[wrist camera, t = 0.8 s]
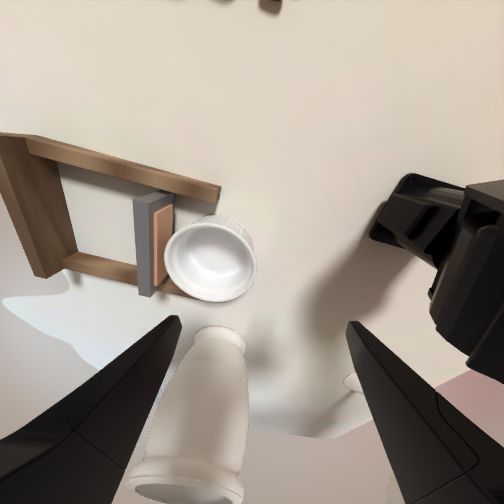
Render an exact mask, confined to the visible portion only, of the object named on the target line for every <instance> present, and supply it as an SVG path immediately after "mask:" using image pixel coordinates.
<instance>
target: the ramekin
mask: <svg viewBox="0 0 504 504" xmlns="http://www.w3.org/2000/svg"><path fill="white" fill-rule="evenodd" d="M164 262H165V267H166V270H167V272H168V274H169V276H170V277H171V279H172V280H173V282H174V283H175V284H176V285H177V286H178V287H179V288H180V289H182V290H183V291H184V292H186V293H187V294H189V295H191V296H193V297H195V298H198V299H201V300H205V301H210V302H223V301H229V300H232V299H235V298H237V297H239V296H241V295H243V294H244V293H245V292H246V291H247V290H248V289H249V288H250V287H251V286H252V284H253V282H254V280H255V277H256V274H257V262H256V257H255V254H254V247H253V242H252V239H251V237H250V235H249V233H248V232H247V231H246V229H245V228H244V227H243V226H242V225H240V224H239V223H238V222H236V221H235V220H233V219H231V218H228V217H225V216H220V215H211V216H206V217H203V218H201V219H198V220H196V221H195V222H193V223H192V224H190V225H188V226H185V227H183V228H182V229H180V230H178V231H177V232H176V233H175V234H174V235H173V236H172V237H171V238H170V239H169V241H168V243H167V245H166V248H165V251H164Z"/></svg>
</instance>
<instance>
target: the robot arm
mask: <svg viewBox="0 0 504 504" xmlns="http://www.w3.org/2000/svg"><path fill="white" fill-rule="evenodd" d="M411 177H412V180H411V181H410V182H409V179H410V178H411ZM375 233H376V235H375V236H373V235H374V234H375ZM369 238H371V239H372V240H375V241H378V242H382V243H386V244H389V245H393V246H397V247H400V248H404V249H407V250H409V251H410V252H412V253H413V254H414V255H416V256H417V257H419V258H420V259H422V260H423V261H425V262H426V263H428V264H429V265H431V266H432V267H434V268H435V269H437V270H438V271H437V274H436V277H435V279H434V282H433V285H432V288H429V291H428V296H429V298H430V300H431V302H430V309H429V313H430V315H431V317H432V319H433V321H434V323H435V324H436V331H437V332H438V333H439V334H440V335H441V336H442V337H443V338H444V339H445V340H446V341H448V342H449V343H450V344H452V345H453V346H454V347H456V348H457V349H458V350H460V351H461V352H462V353H464V354H466V355H467V356H469V358H468V360H467V361H466V365H467V367H469V368H470V369H473V370H475V371H477V372H479V373H482V374H484V375H486V376H488V377H490V378H493V379H495V380H497V381H499V382H501V383H502V384H504V180H498V181H491V182H485V183H478V184H471V185H467V186H466V188H461V187H458V186H455V185H452V184H448V183H445V182H442V181H438V180H435V179H432V178H429V177H425V176H422V175H419V174H415V173H409V174H407V175H405V177H404V178H403V179H402V181H401V183H400V184H399V186H398V187H397V189H396V191H395V192H394V194H393V195H392V196H391V198H390V199H389V201H388V202H387V204H386V206H385V207H384V209H383V210H382V212H381V214H380V215H379V217H378V218H377V221H376V223H375V224H374V226H373V228H372V229H371V231H370V232H369ZM181 329H182V325H181V322H180V319H179V316H178V315H170V316H168V317H167V318H166V319H165V320H163V321H162V322H161V323H160V324H158V325H157V326H156V327H155V328H153V329H152V330H151V331H149V332H148V333H147V334H146V335H144V336H143V337H142V338H141V339H139V340H138V341H137V342H136V343H134V344H133V345H132V346H131V347H129V348H128V349H127V350H125V351H124V352H123V353H122V354H120V355H119V356H118V357H117V358H115V359H114V360H113V361H112V362H110V363H109V364H108V365H106V366H105V367H104V368H103V369H101V370H100V371H99V372H98V373H96V374H95V375H94V376H93V377H91V378H90V379H89V380H87V381H86V382H85V383H84V384H82V385H81V386H79V387H78V388H77V389H75V390H74V391H73V392H71V393H70V394H68V395H67V396H66V397H64V398H63V399H62V400H60V401H59V402H57V403H56V404H54V405H53V406H52V407H50V408H49V409H47V410H46V411H45V412H43V413H42V414H40V415H39V416H37V417H36V418H35V419H33V420H32V421H30V422H29V423H28V424H26V425H25V426H23V427H22V428H20V429H19V430H17V431H16V432H14V433H12V434H10V435H9V436H7V437H5V438H3V439H1V440H0V504H111V503H112V501H113V499H114V496H115V494H116V491H117V489H118V487H119V484H120V482H121V480H122V477H123V475H124V472H125V469H126V467H127V465H128V463H129V460H130V458H131V455H132V453H133V451H134V448H135V446H136V443H137V441H138V439H139V436H140V434H141V432H142V429H143V427H144V425H145V422H146V420H147V418H148V415H149V413H150V410H151V408H152V406H153V403H154V401H155V399H156V396H157V394H158V391H159V389H160V387H161V384H162V382H163V380H164V377H165V375H166V372H167V370H168V368H169V365H170V363H171V360H172V358H173V355H174V352H175V349H176V346H177V342H178V339H179V336H180V333H181ZM346 338H347V342H348V346H349V350H350V354H351V357H352V361H353V365H354V368H355V371H356V374H357V377H358V379H359V382H360V385H361V387H362V390H363V393H364V395H365V398H366V401H367V403H368V406H369V409H370V411H371V414H372V417H373V419H374V422H375V425H376V427H377V430H378V432H379V435H380V438H381V440H382V443H383V446H384V449H385V451H386V454H387V457H388V459H389V462H390V464H391V467H392V470H393V473H394V475H395V478H396V481H397V483H398V486H399V489H400V491H401V494H402V497H403V499H404V502H405V504H504V448H503V447H502V446H501V445H500V444H499V443H497V442H496V441H495V440H494V439H492V438H491V437H490V436H489V435H487V434H486V433H485V432H484V431H483V430H481V429H480V428H479V427H478V426H476V425H475V424H474V423H473V422H472V421H470V420H469V419H468V418H467V417H466V416H464V415H463V414H462V413H461V412H460V411H459V410H457V409H456V408H455V407H454V406H453V405H452V404H450V403H449V402H448V401H447V400H446V399H445V398H444V397H443V396H441V395H440V394H439V393H438V392H436V391H435V389H434V388H433V387H431V386H430V385H429V384H428V383H427V382H426V381H425V380H424V379H422V378H421V377H420V376H419V375H418V374H417V373H416V372H415V371H413V370H412V369H411V368H410V367H409V366H408V365H407V364H406V363H405V362H403V361H402V360H401V359H400V358H399V357H398V356H397V355H396V354H394V353H393V352H392V351H391V350H390V349H389V348H388V347H387V346H385V345H384V344H383V343H382V342H381V341H380V340H379V339H378V338H377V337H375V336H374V335H373V334H372V333H371V332H370V331H369V330H368V329H366V328H365V327H364V326H363V325H362V324H361V323H360V322H358V321H349V322H348V325H347V329H346Z"/></svg>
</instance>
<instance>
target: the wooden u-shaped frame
mask: <svg viewBox="0 0 504 504" xmlns="http://www.w3.org/2000/svg"><path fill="white" fill-rule="evenodd" d="M56 161H59V162H63V163H66V164H70V165H74V166H77V167H81V168H85V169H88V170H92V171H96V172H100V173H103V174H107V175H111V176H114V177H118V178H122V179H125V180H129V181H133V182H136V183H140V184H144V185H147V186H151V187H155V188H159V189H162V190H166V191H170V192H173V193H177V194H181V195H184V196H188V197H192V198H195V199H199V200H203V201H206V202H210V203H215V202H216V201H217V200H218V199H219V197H220V191H221V186H217V185H213V184H210V183H206V182H203V181H199V180H195V179H192V178H188V177H185V176H181V175H177V174H174V173H170V172H167V171H163V170H159V169H156V168H152V167H149V166H145V165H141V164H138V163H134V162H131V161H127V160H124V159H120V158H116V157H113V156H109V155H106V154H102V153H98V152H95V151H91V150H88V149H84V148H80V147H77V146H73V145H70V144H66V143H62V142H59V141H55V140H52V139H48V138H44V137H41V136H37V135H27V134H14V133H2V132H0V193H1V195H2V198H3V200H4V203H5V205H6V207H7V210H8V212H9V215H10V217H11V220H12V222H13V224H14V227H15V229H16V232H17V234H18V236H19V239H20V241H21V244H22V246H23V249H24V251H25V254H26V256H27V258H28V261H29V263H30V265H31V268H32V270H33V273H34V275H35V276H36V277H41V278H45V279H47V278H49V277H51V276H52V275H54V274H56V273H58V272H59V271H61V270H63V269H69V270H73V271H78V272H82V273H86V274H90V275H95V276H99V277H103V278H107V279H112V280H116V281H120V282H124V283H129V284H133V285H137V286H138V275H137V266H135V265H131V264H127V263H123V262H119V261H114V260H110V259H106V258H102V257H98V256H94V255H90V254H85V253H81V252H78V250H77V246H76V242H75V238H74V234H73V230H72V226H71V222H70V217H69V213H68V209H67V205H66V201H65V197H64V193H63V189H62V185H61V181H60V177H59V173H58V169H57V165H56ZM157 290H159V291H163V292H167V293H171V294H176V295H180V296H184V297H189V298H193V299H197V300H200V299H198V298H195V297H193V296H191V295H189V294H187V293H186V292H184V291H183V290H182V289H180V288H179V287H178V286H177V285H176V284H175V283H174V282H173V280H172V279H171V277H170V276H169V275H168V276H167V278H166V279H165V280H164V281H163V283H162V284H161V285H160V286H159V288H158V289H157Z"/></svg>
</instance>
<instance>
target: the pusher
mask: <svg viewBox="0 0 504 504" xmlns="http://www.w3.org/2000/svg"><path fill="white" fill-rule="evenodd" d="M173 205H174V193H173V192H170V191H166V190H162V189H161V190H158V191H155V192H152V193H149V194H147V195H144V196H141V197H138V198H135V199H133V214H134V229H135V244H136V260H137V275H138V290H139V295H141V296H146V297H150V298H151V296H152V295H153V294H154V293H155V291H156V290H157V289H158V288H159V286H160V285H161V284H162V283H163V281H164V280H165V279H166V278H167V276H168V275H169V274H168V272H167V270H166V267H165V262H164V251H165V248H166V245H167V243H168V241H169V239H170V238H171V237H172V227H173Z"/></svg>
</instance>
